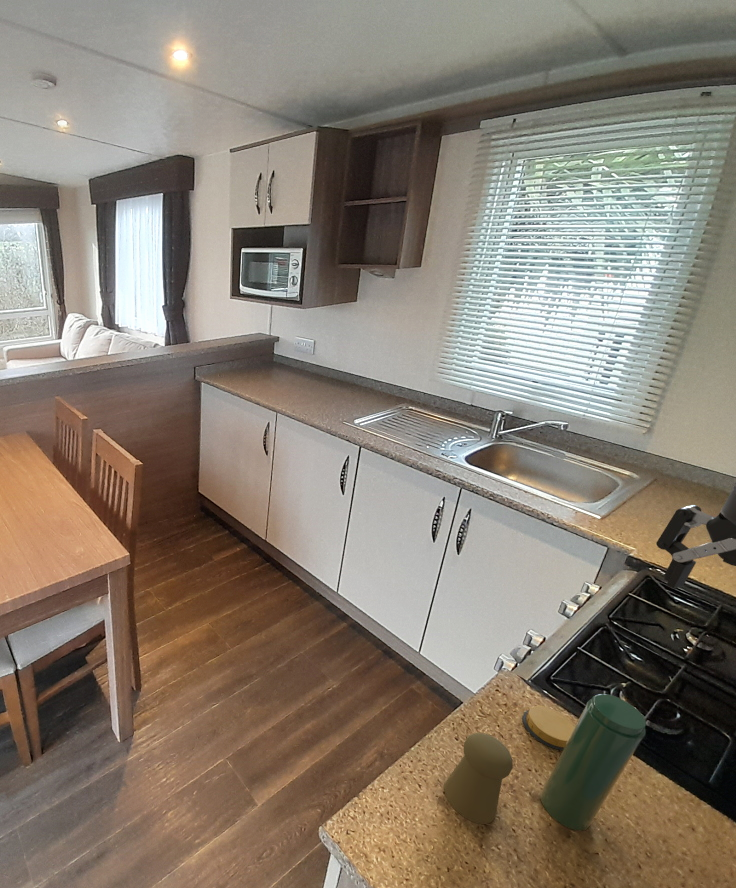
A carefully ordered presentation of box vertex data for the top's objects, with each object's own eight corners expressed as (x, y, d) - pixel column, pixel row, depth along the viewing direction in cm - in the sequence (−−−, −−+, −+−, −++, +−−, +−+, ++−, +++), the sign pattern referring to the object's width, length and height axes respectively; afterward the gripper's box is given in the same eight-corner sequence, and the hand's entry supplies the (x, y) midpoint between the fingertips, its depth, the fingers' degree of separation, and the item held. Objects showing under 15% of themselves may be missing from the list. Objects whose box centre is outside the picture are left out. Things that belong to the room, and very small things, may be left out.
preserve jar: (574, 792, 66) (628, 695, 58) (599, 834, 61) (662, 735, 54) (532, 784, 67) (580, 688, 59) (553, 826, 62) (608, 727, 54)
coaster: (558, 714, 76) (559, 712, 76) (584, 754, 71) (585, 751, 70) (514, 708, 78) (515, 706, 77) (535, 746, 72) (536, 744, 72)
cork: (499, 797, 66) (524, 745, 61) (491, 835, 61) (516, 781, 57) (449, 767, 69) (469, 715, 65) (438, 800, 65) (458, 748, 61)
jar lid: (538, 744, 72) (541, 737, 71) (518, 708, 77) (521, 702, 76) (583, 750, 71) (587, 744, 70) (559, 714, 76) (563, 708, 75)
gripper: (682, 466, 55) (627, 579, 61) (891, 533, 42) (794, 665, 49) (721, 456, 57) (664, 566, 63) (930, 516, 45) (833, 645, 51)
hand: (721, 609), depth 56 cm, fingers open, 8 cm apart
